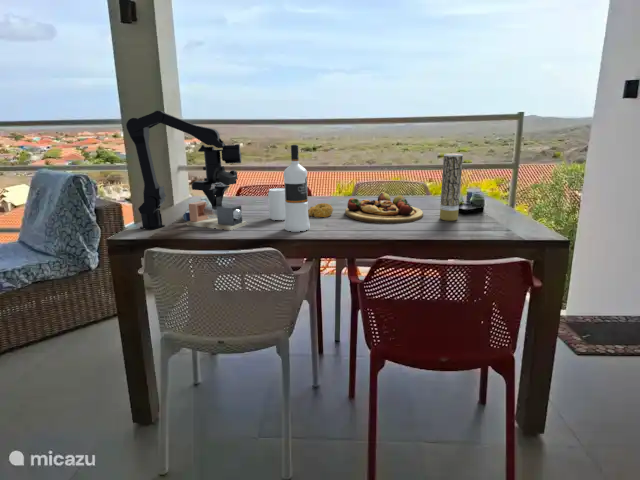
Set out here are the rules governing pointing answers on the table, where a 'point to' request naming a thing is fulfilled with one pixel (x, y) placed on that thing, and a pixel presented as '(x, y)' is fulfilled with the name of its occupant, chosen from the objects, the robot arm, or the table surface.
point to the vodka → (296, 195)
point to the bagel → (320, 210)
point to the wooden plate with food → (383, 210)
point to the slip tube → (213, 210)
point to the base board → (215, 224)
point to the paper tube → (451, 186)
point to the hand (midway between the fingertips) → (216, 205)
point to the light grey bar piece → (187, 214)
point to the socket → (197, 211)
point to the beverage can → (276, 203)
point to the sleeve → (228, 215)
